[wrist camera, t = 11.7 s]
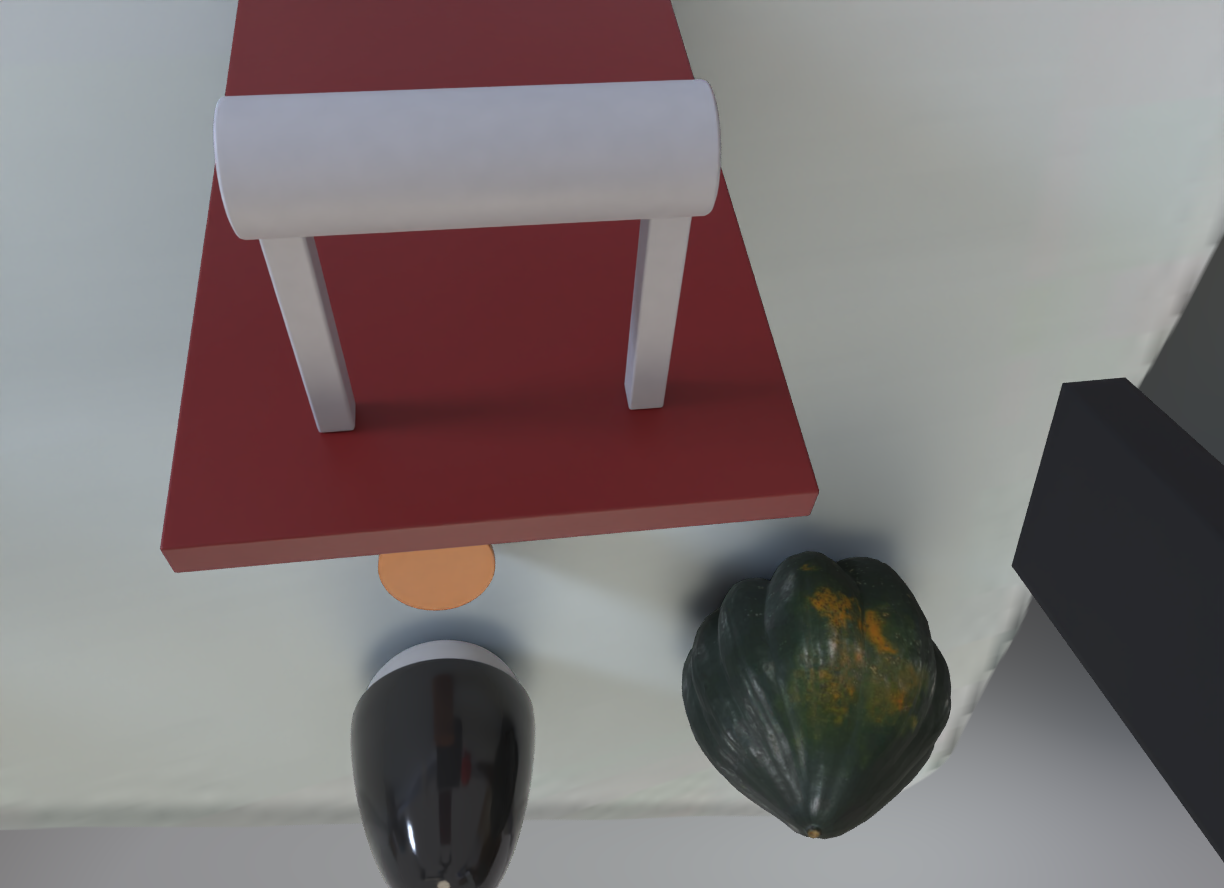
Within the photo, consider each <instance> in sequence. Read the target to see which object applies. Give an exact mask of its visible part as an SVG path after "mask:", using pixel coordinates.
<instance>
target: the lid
mask: <svg viewBox="0 0 1224 888" xmlns="http://www.w3.org/2000/svg"><path fill="white" fill-rule="evenodd" d="M213 138H214V154H215V169H214V176H213V183H212V190H211V197H210V204H209V211H208V218H207V225H206V232H205V239H204V246H203V253H202V260H201V267H200V274H199V281H198V288H197V295H196V302H195V309H194V316H193V323H192V329H191V336H190V343H189V350H188V357H187V364H186V371H185V378H184V385H183V392H182V399H181V406H180V413H179V420H178V427H177V434H176V441H175V448H174V455H173V462H172V469H171V476H170V483H169V490H168V497H167V504H166V511H165V518H164V525H163V532H162V539H161V546H160V549H161V551H162V553H163V555H164V556H165V558H166V559H167V561H168V563H169V564H170V566H171V567H172V569H173V571H174V572H177V573H180V572H191V571H202V570H213V569H224V568H235V567H246V566H257V565H268V564H279V563H290V562H301V561H312V560H323V559H334V558H345V557H356V556H367V555H378V554H389V553H400V552H411V551H422V550H433V549H445V548H456V547H467V546H478V545H489V544H500V543H511V542H522V541H533V540H544V539H555V538H566V537H577V536H588V535H599V534H610V533H621V532H632V531H643V530H654V529H665V528H676V527H687V526H698V525H709V524H720V523H732V522H743V521H754V520H765V519H776V518H787V517H798V516H808V515H810V513H811V511H812V508H813V506H814V503H815V501H816V499H817V496H818V494H819V488H818V485H817V482H816V479H815V475H814V472H813V469H812V465H811V462H810V459H809V455H808V452H807V449H806V446H805V442H804V439H803V436H802V432H801V429H800V426H799V423H798V419H797V416H796V413H795V409H794V406H793V403H792V399H791V396H790V393H789V390H788V386H787V383H786V380H785V376H784V373H783V370H782V367H781V363H780V360H779V357H778V353H777V350H776V347H775V343H774V340H773V337H772V334H771V330H770V327H769V324H768V320H767V317H766V314H765V311H764V307H763V304H762V301H761V297H760V294H759V291H758V287H757V284H756V281H755V278H754V274H753V271H752V268H751V264H750V261H749V258H748V254H747V251H746V248H745V245H744V241H743V238H742V235H741V231H740V228H739V225H738V222H737V218H736V215H735V212H734V208H733V205H732V202H731V198H730V195H729V192H728V189H727V185H726V182H725V179H724V175H723V172H722V169H721V133H720V122H719V114H718V108H717V103H716V99H715V96H714V93H713V90H712V87H711V86H710V84H709V83H708V82H707V81H705V80H703V79H696V80H694V77H693V73H692V70H691V67H690V63H689V60H688V57H687V54H686V50H685V47H684V44H683V40H682V37H681V34H680V30H679V27H678V24H677V21H676V17H675V14H674V11H673V7H672V4H671V1H670V0H239V1H238V8H237V15H236V22H235V29H234V36H233V43H232V50H231V57H230V64H229V71H228V78H227V85H226V92H225V96H224V97H222V98H220V99H219V101H218V102H217V105H216V109H215V115H214V126H213Z"/></svg>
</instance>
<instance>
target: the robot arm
mask: <svg viewBox="0 0 1224 888" xmlns="http://www.w3.org/2000/svg"><path fill="white" fill-rule="evenodd" d="M1012 567H1013V568H1014V570H1015V571H1016V573H1017V574H1018V575H1019V577H1020V578H1021V580H1022V581H1023V582H1024V584H1025V585H1026V587H1027V588H1028V589H1029V591H1030V592H1031V594H1032V595H1033V596H1034V598H1035V599H1036V600H1037V602H1038V603H1039V605H1040V606H1041V607H1042V609H1043V610H1044V612H1045V613H1046V614H1047V616H1048V617H1049V619H1050V620H1051V621H1052V623H1053V624H1054V626H1055V627H1056V628H1057V630H1058V631H1059V633H1060V634H1061V635H1062V637H1063V638H1064V639H1065V641H1066V642H1067V644H1068V645H1069V647H1070V648H1071V649H1072V651H1073V652H1074V654H1075V655H1076V656H1077V658H1078V659H1079V661H1080V662H1081V663H1082V665H1083V666H1084V668H1085V669H1086V670H1087V672H1088V673H1089V675H1090V676H1091V677H1092V679H1093V680H1094V682H1095V683H1096V684H1097V686H1098V687H1099V689H1100V690H1101V691H1102V693H1103V694H1104V696H1105V697H1106V698H1107V700H1108V701H1109V702H1110V704H1111V705H1112V707H1113V708H1114V709H1115V711H1116V712H1117V713H1118V715H1119V716H1120V718H1121V719H1122V721H1123V722H1124V723H1125V725H1126V726H1127V728H1128V729H1129V730H1130V732H1131V733H1132V735H1133V736H1134V737H1135V739H1136V740H1137V742H1138V743H1139V744H1140V746H1141V747H1142V749H1143V750H1144V751H1145V753H1146V754H1147V756H1148V757H1149V758H1150V760H1151V761H1152V763H1153V764H1154V765H1155V767H1156V768H1157V769H1158V771H1159V772H1160V774H1161V775H1162V776H1163V778H1164V779H1165V781H1166V782H1167V783H1168V785H1169V786H1170V788H1171V789H1172V791H1173V792H1174V793H1175V795H1176V796H1177V797H1178V799H1179V800H1180V802H1181V803H1182V804H1183V806H1184V807H1185V809H1186V810H1187V811H1188V813H1189V814H1190V816H1191V817H1192V818H1193V820H1194V821H1195V823H1196V824H1197V825H1198V827H1199V828H1200V829H1201V831H1202V832H1203V834H1204V835H1205V837H1206V838H1207V839H1208V841H1209V842H1210V844H1211V845H1212V846H1213V848H1214V849H1215V851H1216V852H1217V853H1218V855H1219V856H1220V857H1221V859H1222V860H1223V862H1224V465H1222V464H1221V463H1220V462H1219V461H1218V460H1217V459H1216V458H1214V456H1212V455H1211V454H1210V453H1209V452H1208V451H1207V450H1206V449H1204V448H1203V447H1202V446H1201V445H1200V444H1199V443H1198V442H1197V441H1196V440H1195V439H1193V438H1192V437H1191V436H1190V435H1189V434H1188V433H1187V432H1186V431H1184V430H1183V429H1182V428H1181V427H1180V426H1179V425H1178V424H1177V423H1176V422H1174V421H1173V420H1172V419H1171V418H1170V417H1169V416H1168V415H1167V414H1165V413H1164V412H1163V411H1162V410H1161V409H1160V408H1159V407H1158V406H1156V405H1155V404H1154V403H1153V402H1152V401H1151V400H1150V399H1149V398H1148V397H1146V396H1145V395H1144V394H1143V393H1142V392H1141V391H1140V390H1139V389H1137V388H1136V387H1135V386H1134V385H1133V384H1132V383H1131V382H1130V381H1129V380H1127V379H1126V378H1114V379H1103V380H1092V381H1081V382H1070V383H1063V384H1062V388H1061V391H1060V395H1059V398H1058V402H1057V405H1056V409H1055V413H1054V416H1053V420H1052V423H1051V427H1050V430H1049V434H1048V438H1047V441H1046V445H1045V448H1044V452H1043V456H1042V459H1041V463H1040V466H1039V470H1038V473H1037V477H1036V481H1035V484H1034V488H1033V491H1032V495H1031V498H1030V502H1029V506H1028V509H1027V513H1026V516H1025V520H1024V524H1023V527H1022V531H1021V534H1020V538H1019V541H1018V545H1017V549H1016V552H1015V556H1014V559H1013V563H1012Z"/></svg>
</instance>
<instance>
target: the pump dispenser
mask: <svg viewBox="0 0 1224 888" xmlns="http://www.w3.org/2000/svg"><path fill="white" fill-rule="evenodd" d="M534 748H535V719H534V711H533V706H532V702H531V700H530V698H529V696H528V694H527V692H526V691H525V689H524V688H523V687H522V685H521V684H520V683H519V681H518V680H517V678H516V676H515V675H514V673H513V672H512V671H511V669H510V668H509V667H508V666H507V665H506V664H505V663H504V662H503V661H502V660H501V659H500V658H499V657H497V656H496V655H495V654H493V653H492V652H490V651H488V650H487V649H485V648H482V647H480V646H478V645H475V644H472V643H468V642H463V641H457V640H436V641H430V642H425V643H422V644H418V645H415V646H413V647H410V648H408V649H406V650H404V651H402V652H401V653H399V654H397V655H396V656H394V657H393V658H392V659H390V660H389V661H388V662H387V663H386V664H385V665H384V666H383V667H382V668H381V669H380V670H379V671H378V672H377V674H376V675H375V676H374V678H373V679H372V681H371V682H370V684H369V686H368V688H367V690H366V692H365V693H364V694H363V695H362V697H361V698H360V700H359V701H358V703H357V705H356V707H355V710H354V713H353V717H352V724H351V756H352V767H353V776H354V784H355V790H356V796H357V801H358V806H359V811H360V815H361V819H362V823H363V826H364V830H365V833H366V836H367V839H368V842H369V846H370V848H371V851H372V854H373V857H374V859H375V861H376V864H377V866H378V869H379V871H380V873H381V875H382V877H383V879H384V881H385V883H386V884H387V886H388V888H497V887H498V886H499V884H500V882H501V880H502V879H503V876H504V875H505V873H506V870H507V868H508V866H509V864H510V861H511V859H512V856H513V853H514V850H515V848H516V844H517V841H518V838H519V835H520V831H521V827H522V823H523V819H524V815H525V811H526V806H527V802H528V797H529V792H530V786H531V779H532V772H533V761H534Z"/></svg>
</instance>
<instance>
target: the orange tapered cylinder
mask: <svg viewBox="0 0 1224 888" xmlns="http://www.w3.org/2000/svg"><path fill="white" fill-rule="evenodd" d="M378 572H379V576H380V580H381V582H382V584H383V585H384V587H385V589H386V590H387V591H388V592H389V593H390V594H391V595H392V596H393V597H394V598H396V599H397V600H399V601H400V602H402V603H404V604H406V605H408V606H411V607H414V608H418V609H423V610H447V609H452V608H456V607H459V606H462V605H465V604H467V603H469V602H471V601H472V600H474V599H475V598H477V597H478V596H479V595H481V594H482V593H483V592H484V591H485V590H486V588H487V587H488V585H489V584H490V582H491V580H492V578H493V575H494V572H495V555H494V550H493V547H492V545H491V544H489V545H478V546H467V547H456V548H445V549H433V550H422V551H411V552H400V553H389V554H379V562H378Z"/></svg>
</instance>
